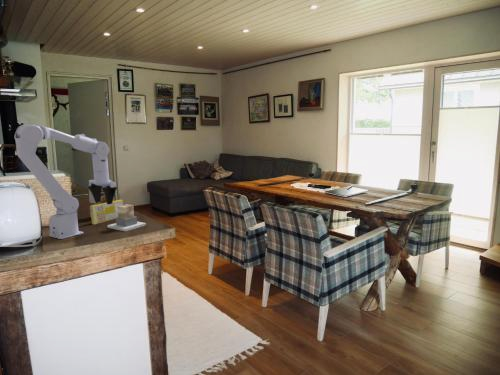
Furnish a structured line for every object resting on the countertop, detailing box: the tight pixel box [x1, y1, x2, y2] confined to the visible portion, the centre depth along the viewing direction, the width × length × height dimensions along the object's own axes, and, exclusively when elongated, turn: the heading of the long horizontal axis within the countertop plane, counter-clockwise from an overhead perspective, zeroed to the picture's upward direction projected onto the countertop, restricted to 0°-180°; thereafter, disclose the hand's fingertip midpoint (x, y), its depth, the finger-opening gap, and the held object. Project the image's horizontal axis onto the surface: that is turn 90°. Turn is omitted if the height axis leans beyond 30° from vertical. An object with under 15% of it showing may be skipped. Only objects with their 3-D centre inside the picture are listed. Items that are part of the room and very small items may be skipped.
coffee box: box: [88, 184, 115, 218], centre depth 167 cm, size 9×6×16 cm
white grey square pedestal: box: [107, 215, 147, 232], centre depth 151 cm, size 11×11×4 cm
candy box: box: [89, 199, 124, 225], centre depth 161 cm, size 16×2×8 cm, turn 149°
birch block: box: [118, 203, 135, 219], centre depth 150 cm, size 4×4×5 cm
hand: (103, 203), depth 148 cm, fingers open, 7 cm apart
